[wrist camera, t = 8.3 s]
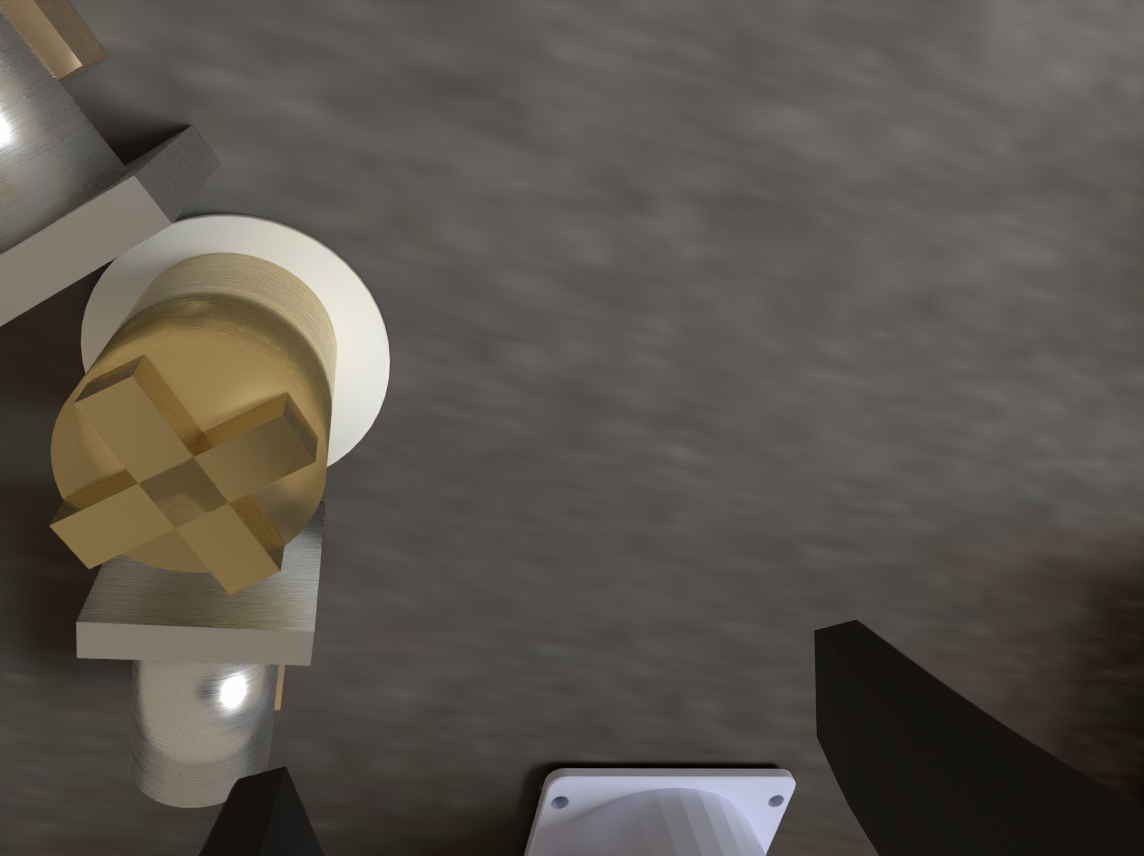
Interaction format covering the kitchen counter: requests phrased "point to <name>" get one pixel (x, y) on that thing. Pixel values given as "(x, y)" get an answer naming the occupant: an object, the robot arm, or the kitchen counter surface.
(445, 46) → the kitchen counter surface
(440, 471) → the kitchen counter surface
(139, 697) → the shaft
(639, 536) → the kitchen counter surface
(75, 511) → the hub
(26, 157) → the shaft
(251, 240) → the seat
